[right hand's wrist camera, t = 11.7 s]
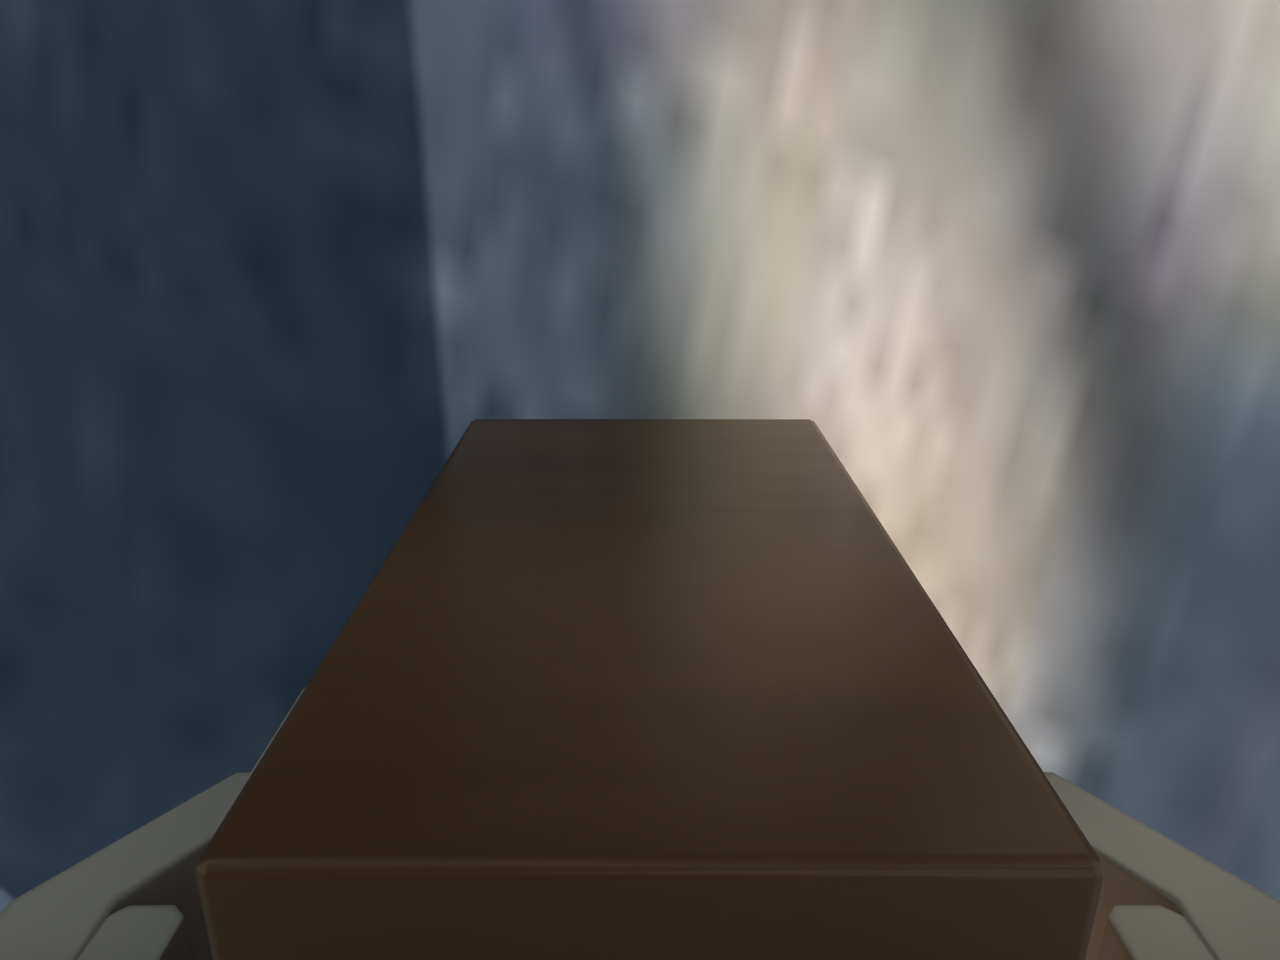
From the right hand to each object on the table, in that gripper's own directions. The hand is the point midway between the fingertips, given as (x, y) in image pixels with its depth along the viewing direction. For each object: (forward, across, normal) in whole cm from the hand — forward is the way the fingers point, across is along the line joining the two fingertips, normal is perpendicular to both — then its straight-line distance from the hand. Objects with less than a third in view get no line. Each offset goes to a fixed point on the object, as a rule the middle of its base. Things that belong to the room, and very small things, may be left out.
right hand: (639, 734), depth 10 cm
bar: (+3, 0, +9) cm, 10 cm away
